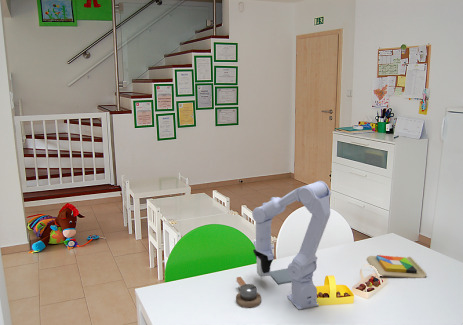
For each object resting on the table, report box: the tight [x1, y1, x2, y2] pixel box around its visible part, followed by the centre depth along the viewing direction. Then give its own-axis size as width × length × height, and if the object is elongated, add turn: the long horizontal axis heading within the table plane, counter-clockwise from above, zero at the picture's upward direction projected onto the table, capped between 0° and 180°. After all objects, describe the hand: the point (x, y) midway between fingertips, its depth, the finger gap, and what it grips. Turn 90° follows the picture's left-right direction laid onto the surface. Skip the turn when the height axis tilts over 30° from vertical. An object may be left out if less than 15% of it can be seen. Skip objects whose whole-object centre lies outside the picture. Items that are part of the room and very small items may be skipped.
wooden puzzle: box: [366, 254, 427, 279], centre depth 171 cm, size 18×19×4 cm
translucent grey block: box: [256, 255, 271, 278], centre depth 159 cm, size 4×4×7 cm
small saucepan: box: [236, 276, 258, 301], centre depth 151 cm, size 14×6×3 cm, turn 19°
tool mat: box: [269, 267, 292, 285], centre depth 166 cm, size 10×10×1 cm
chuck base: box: [235, 292, 262, 309], centre depth 148 cm, size 9×9×2 cm
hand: (263, 269), depth 160 cm, fingers closed on translucent grey block, 4 cm apart
